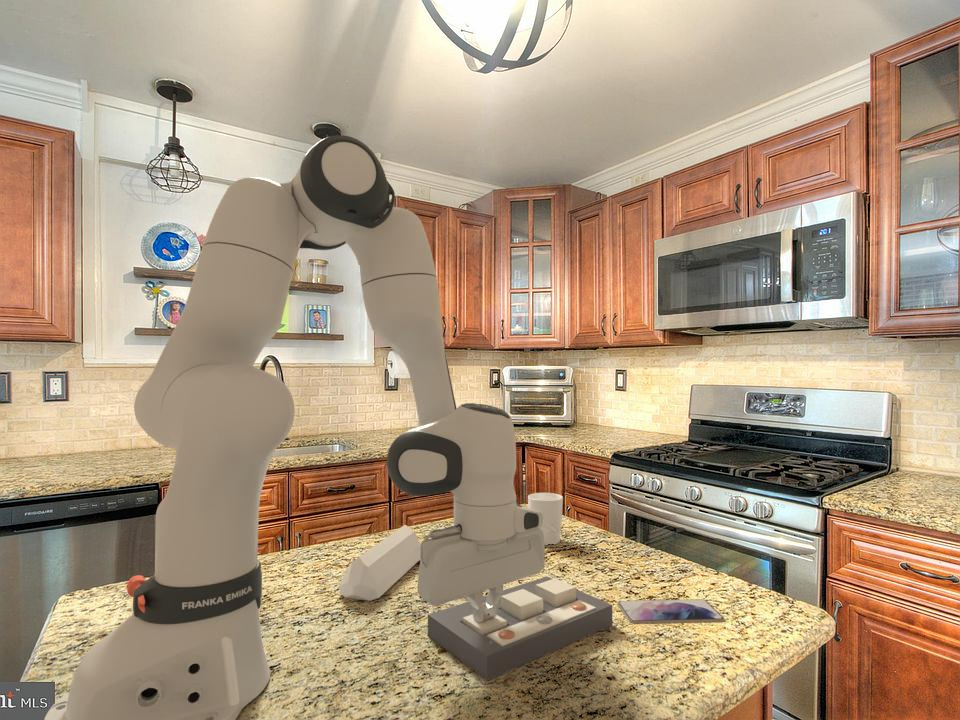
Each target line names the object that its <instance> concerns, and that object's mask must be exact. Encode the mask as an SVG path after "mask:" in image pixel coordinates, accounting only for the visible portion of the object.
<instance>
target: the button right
mask: <svg viewBox="0 0 960 720" xmlns="http://www.w3.org/2000/svg"><path fill="white" fill-rule="evenodd" d="M576 587H577V586H574V585H571V584H570V583H567V582H565V581H563V580H560V579H558V578H552V580H549V581H546V582H543V583H540V584H537V585H536V595H537V596H539V597H541V598H543V602H545V603H547V604H549V605H551V606H553V607H559V606H561V605H564V604H567V603H569V602H572V601H575V600H576V589H577V588H576Z"/></svg>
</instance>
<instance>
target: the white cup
mask: <svg viewBox="0 0 960 720" xmlns="http://www.w3.org/2000/svg"><path fill="white" fill-rule="evenodd" d="M563 502H564V496H563V495H561V494H559V493H558V494H557V493H553V492H535V493H531V494H528V495H527V503H528V505H527V506H528V507H527V508H530V509H533V510H536V511H539V512H541V513H542V514H543V525H542V526H541V527H539V528H541V530H542V531H543V534H544V542H545V544H554V545H556V544H555V543H558V542H559V543H560V542H561V532H562V531H561V530H562V523H563V522H562V521H563V505H564V503H563ZM559 543H558V544H559Z"/></svg>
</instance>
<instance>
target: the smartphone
mask: <svg viewBox="0 0 960 720" xmlns="http://www.w3.org/2000/svg"><path fill="white" fill-rule="evenodd" d="M617 607H618V608H619V609H620V611H621V612H622V614H623V615H624V617H625V618H626V620H627V621H628V622H629V623H630V624H633V625H634V624H637V625H638V624H674V623H675V624H677V623H679V624H680V623H681V624H683V623H685V624H686V623H719V622H721V623H722V622H725V617H724V616H723V615H722V614H721V613H720V612H719V611H717V610H716V609H715V607H714V606H713V605H711V603H709V602H708V601H707V600H705V599H701V598H700V599H696V598H695V599H693V598H692V599H652V600H651V599H648V600H647V599H646V600H644V599H643V600H640V599H639V600H619V601H617Z"/></svg>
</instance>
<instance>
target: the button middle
mask: <svg viewBox="0 0 960 720" xmlns="http://www.w3.org/2000/svg"><path fill="white" fill-rule="evenodd" d="M501 610H502V611H504V612H506V613H508V614H509V615H511V616H513V617H515V618H516V619H518V620H520V621H521V620H524V619H527V618H529V617H532V616H535V615H537V614H540V613H543V598H541V597H539V596H537V595H535V594H533V593H531V592H529V591H526V590H524V589H521V590H518V591H515V592H512V593H509V594H506V595H503V596H501Z"/></svg>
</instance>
